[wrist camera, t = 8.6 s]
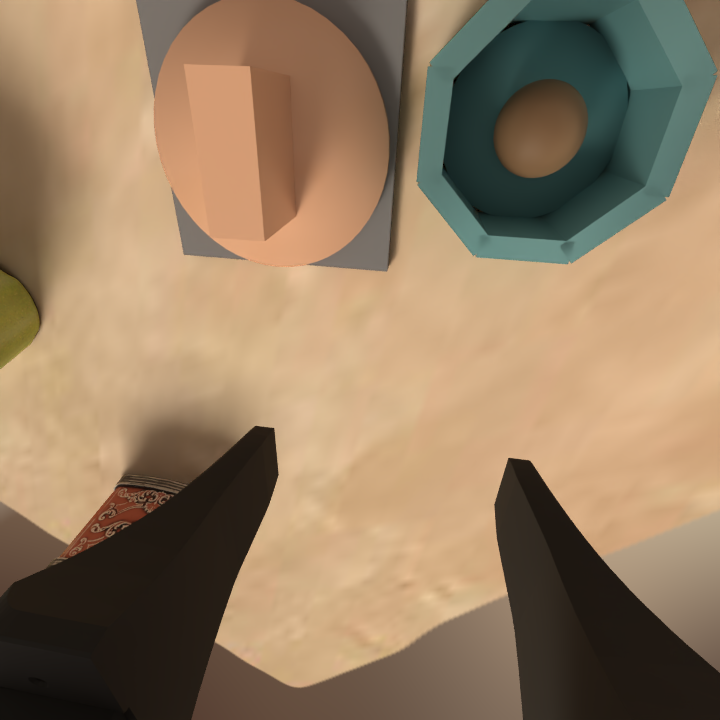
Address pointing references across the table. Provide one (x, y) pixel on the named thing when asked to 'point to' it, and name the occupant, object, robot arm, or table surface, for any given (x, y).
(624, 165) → the bowl
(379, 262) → the mat
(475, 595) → the table surface
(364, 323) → the table surface
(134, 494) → the lighter
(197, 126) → the lid
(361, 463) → the table surface
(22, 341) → the plant pot
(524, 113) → the ball
